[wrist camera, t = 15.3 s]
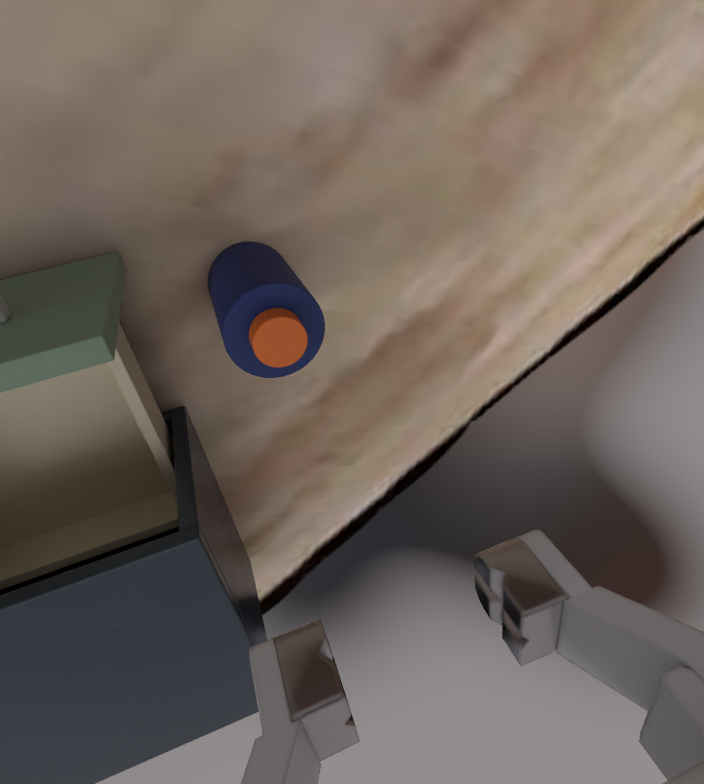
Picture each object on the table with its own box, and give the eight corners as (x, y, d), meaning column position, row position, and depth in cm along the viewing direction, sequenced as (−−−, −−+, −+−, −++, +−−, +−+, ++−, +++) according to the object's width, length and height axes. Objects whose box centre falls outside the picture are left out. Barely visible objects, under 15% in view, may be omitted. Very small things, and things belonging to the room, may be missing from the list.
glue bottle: (195, 254, 24) (211, 310, 18) (279, 231, 25) (320, 278, 19) (223, 331, 27) (244, 403, 21) (298, 308, 27) (340, 370, 21)
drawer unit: (-85, 489, 25) (-195, 680, 17) (185, 405, 28) (199, 537, 20) (49, 637, 33) (16, 818, 25) (250, 561, 36) (280, 702, 28)
